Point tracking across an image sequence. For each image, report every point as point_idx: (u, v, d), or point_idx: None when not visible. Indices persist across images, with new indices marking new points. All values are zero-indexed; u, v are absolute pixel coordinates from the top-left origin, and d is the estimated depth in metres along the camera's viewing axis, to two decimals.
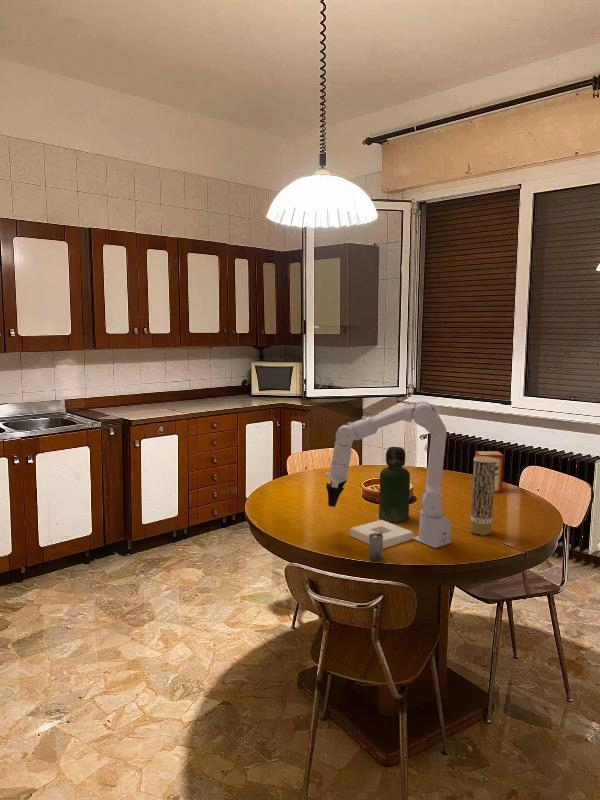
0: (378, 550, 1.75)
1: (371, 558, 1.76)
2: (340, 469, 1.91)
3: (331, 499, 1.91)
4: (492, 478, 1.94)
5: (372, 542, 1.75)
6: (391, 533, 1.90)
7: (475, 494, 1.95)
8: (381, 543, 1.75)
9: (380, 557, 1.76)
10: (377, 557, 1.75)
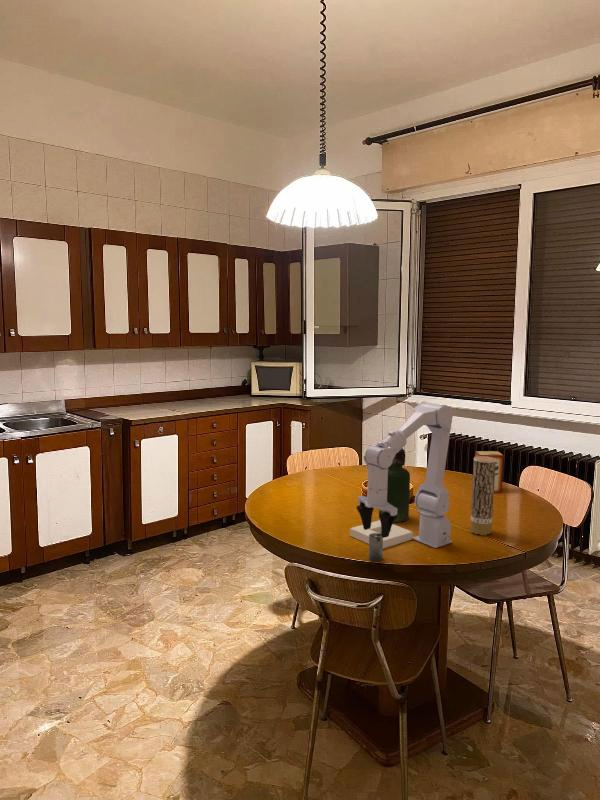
0: (378, 550, 1.75)
1: (371, 558, 1.76)
2: (385, 494, 1.73)
3: (385, 529, 1.72)
4: (492, 478, 1.94)
5: (372, 542, 1.75)
6: (391, 533, 1.90)
7: (475, 494, 1.95)
8: (381, 543, 1.75)
9: (380, 557, 1.76)
10: (377, 557, 1.75)
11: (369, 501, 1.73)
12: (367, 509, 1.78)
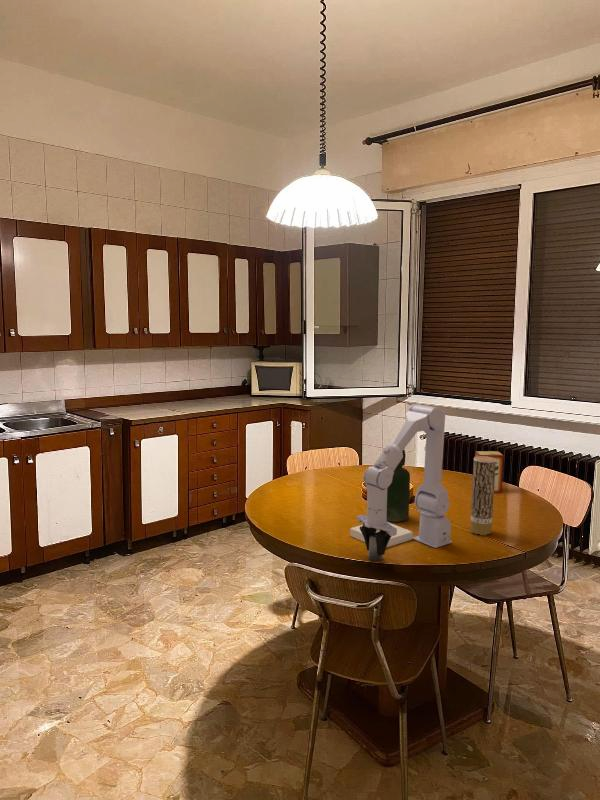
0: None
1: (371, 558, 1.76)
2: (385, 514, 1.74)
3: (381, 547, 1.74)
4: (492, 478, 1.94)
5: (372, 542, 1.75)
6: None
7: (475, 494, 1.95)
8: None
9: (380, 557, 1.76)
10: (377, 557, 1.75)
11: (369, 521, 1.74)
12: (370, 530, 1.78)
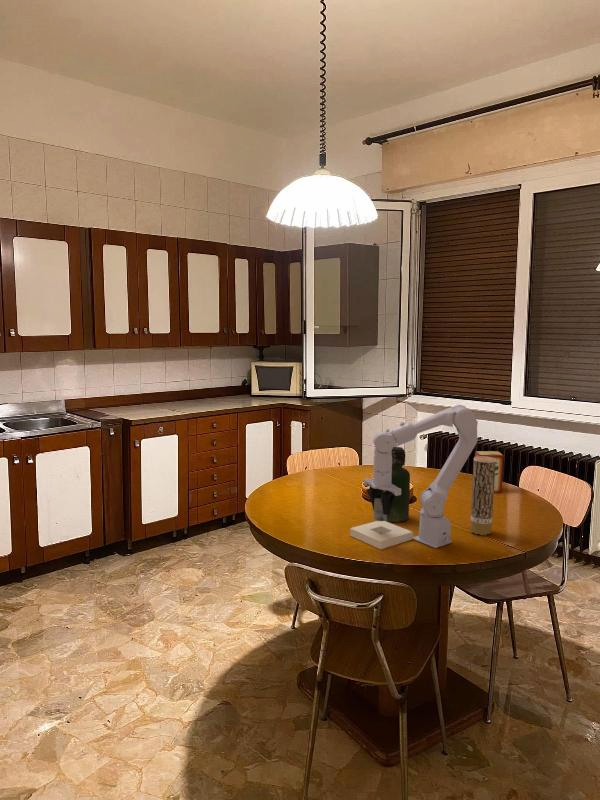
0: None
1: (377, 518, 1.90)
2: (390, 476, 1.88)
3: (387, 507, 1.89)
4: (492, 478, 1.94)
5: (378, 503, 1.89)
6: (391, 533, 1.90)
7: (475, 494, 1.95)
8: None
9: (385, 517, 1.90)
10: (383, 517, 1.89)
11: (375, 483, 1.89)
12: (376, 491, 1.92)
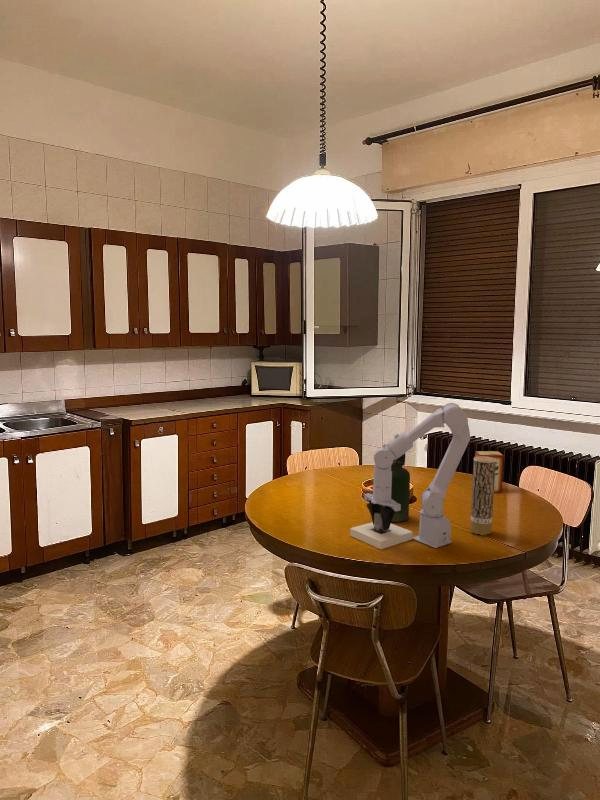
0: None
1: None
2: (390, 491, 1.90)
3: (386, 522, 1.91)
4: (492, 478, 1.94)
5: (377, 518, 1.91)
6: (391, 533, 1.90)
7: (475, 494, 1.95)
8: None
9: (385, 532, 1.92)
10: (382, 532, 1.91)
11: (375, 498, 1.90)
12: (376, 506, 1.94)
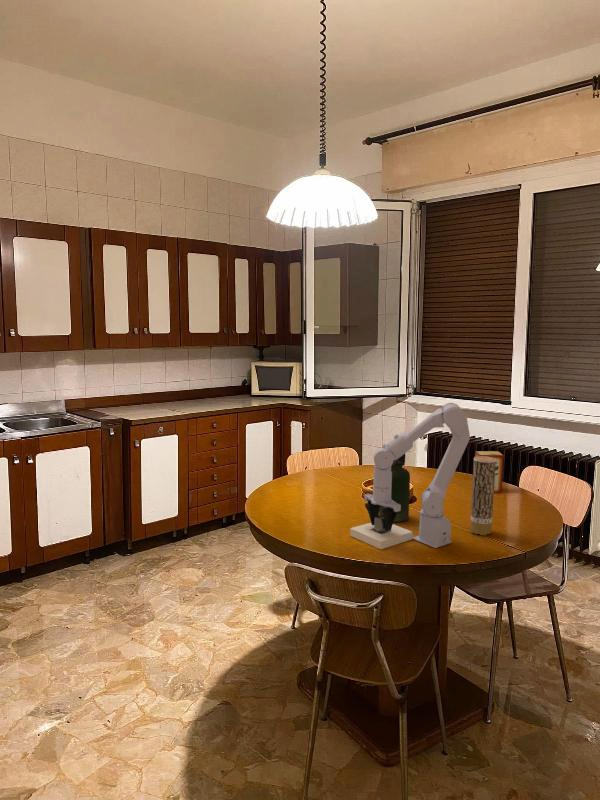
0: (384, 530, 1.91)
1: None
2: (390, 492, 1.90)
3: (388, 523, 1.90)
4: (492, 478, 1.94)
5: (378, 523, 1.91)
6: (391, 533, 1.90)
7: (475, 494, 1.95)
8: None
9: None
10: None
11: (375, 498, 1.90)
12: (374, 506, 1.95)
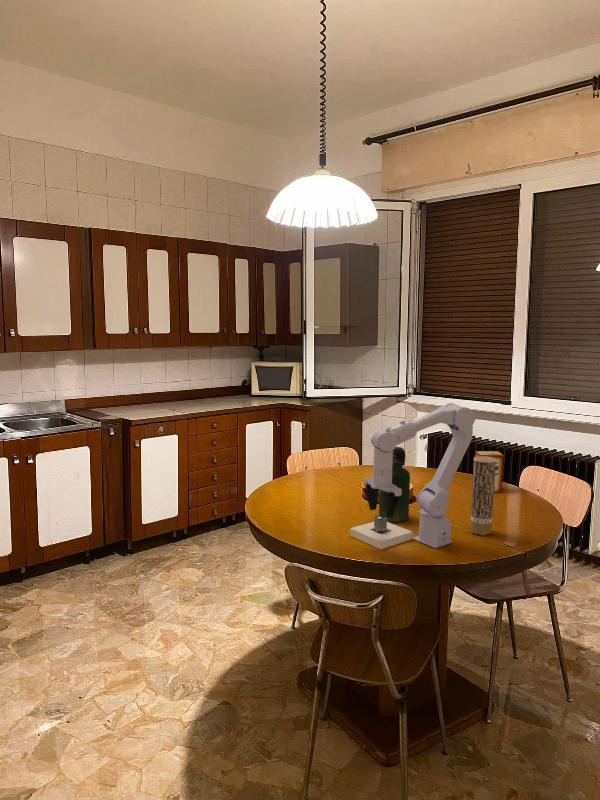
0: (384, 530, 1.91)
1: None
2: (390, 476, 1.82)
3: (390, 509, 1.82)
4: (492, 478, 1.94)
5: (378, 522, 1.91)
6: (391, 533, 1.90)
7: (475, 494, 1.95)
8: (386, 523, 1.92)
9: None
10: None
11: (375, 482, 1.83)
12: (373, 491, 1.88)
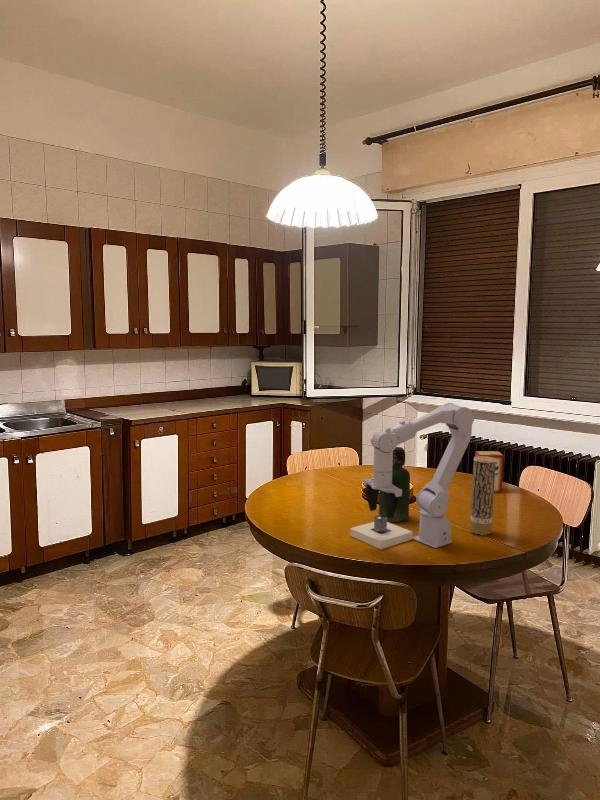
0: (384, 530, 1.91)
1: None
2: (390, 476, 1.82)
3: (391, 510, 1.81)
4: (492, 478, 1.94)
5: (378, 523, 1.91)
6: (391, 533, 1.90)
7: (475, 494, 1.95)
8: (386, 523, 1.92)
9: None
10: None
11: (375, 483, 1.83)
12: (373, 491, 1.87)
